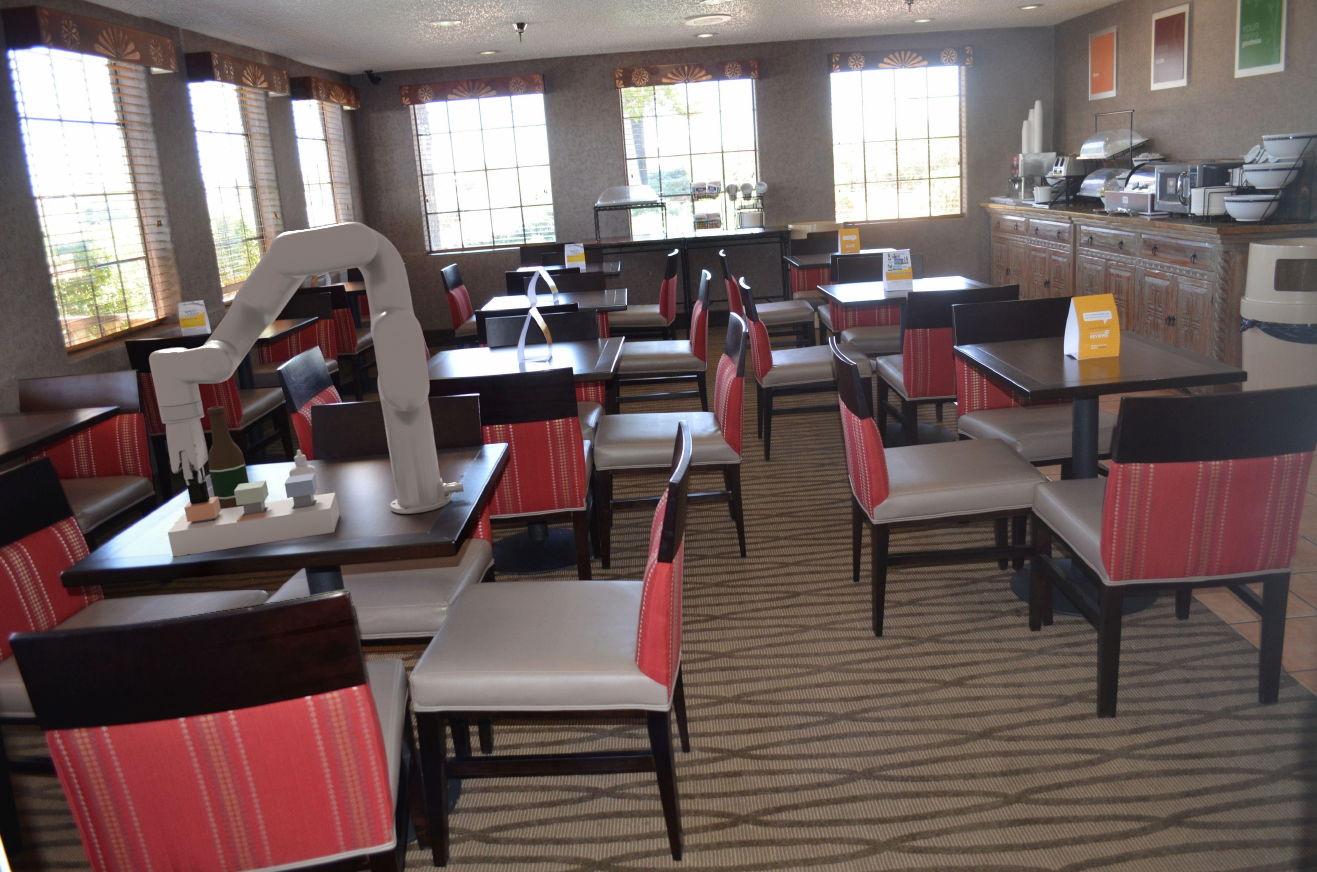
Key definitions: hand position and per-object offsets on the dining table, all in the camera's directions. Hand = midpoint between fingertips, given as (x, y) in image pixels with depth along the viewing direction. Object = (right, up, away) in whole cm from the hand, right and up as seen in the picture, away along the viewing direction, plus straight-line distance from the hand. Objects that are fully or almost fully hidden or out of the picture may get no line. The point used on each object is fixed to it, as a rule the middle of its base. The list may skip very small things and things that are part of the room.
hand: (200, 502), depth 189 cm
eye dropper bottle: (+12, -2, +26) cm, 28 cm away
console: (+10, -7, +4) cm, 13 cm away
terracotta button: (+1, -8, +2) cm, 8 cm away
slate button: (+19, -3, +5) cm, 20 cm away
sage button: (+10, -5, +3) cm, 11 cm away
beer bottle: (-2, -4, +21) cm, 22 cm away
